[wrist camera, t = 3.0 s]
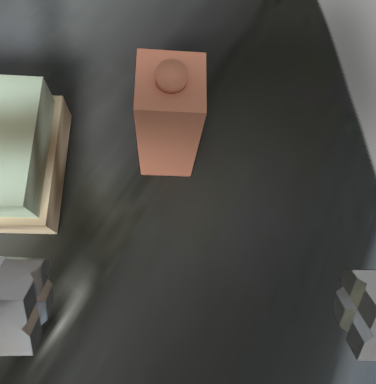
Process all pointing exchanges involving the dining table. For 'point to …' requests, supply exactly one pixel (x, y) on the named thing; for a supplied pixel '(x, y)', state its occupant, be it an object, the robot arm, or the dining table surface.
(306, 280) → the dining table surface
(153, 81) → the brick
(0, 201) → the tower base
